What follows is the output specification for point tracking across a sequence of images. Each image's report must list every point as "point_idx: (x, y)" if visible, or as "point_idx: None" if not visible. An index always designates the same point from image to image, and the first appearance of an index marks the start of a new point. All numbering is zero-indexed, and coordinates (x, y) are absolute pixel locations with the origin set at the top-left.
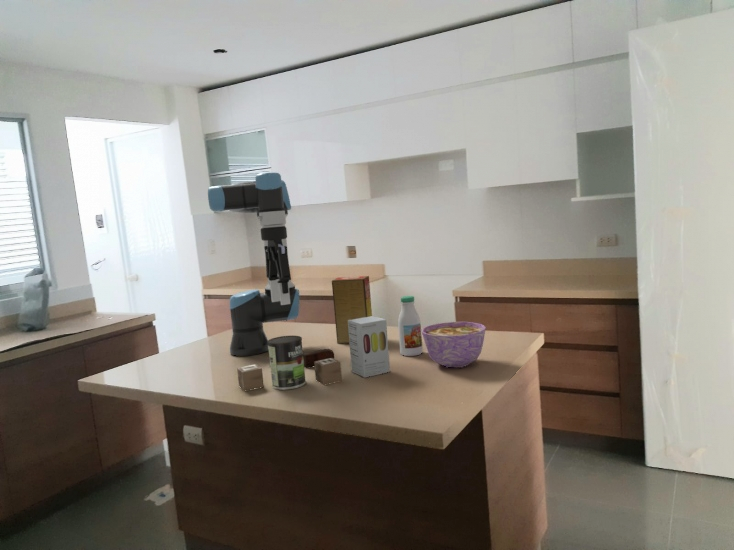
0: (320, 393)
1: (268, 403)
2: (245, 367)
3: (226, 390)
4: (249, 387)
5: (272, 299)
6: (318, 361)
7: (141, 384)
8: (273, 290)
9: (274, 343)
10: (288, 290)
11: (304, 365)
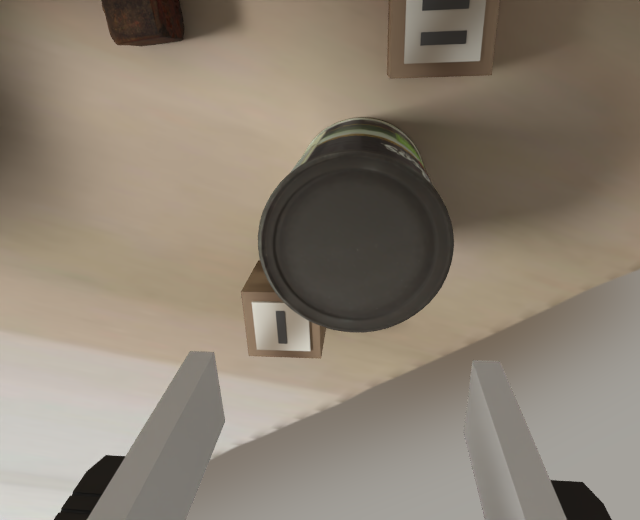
0: (557, 125)
1: (501, 299)
2: (271, 337)
3: None
4: None
5: (217, 439)
6: (415, 63)
7: (73, 489)
8: (179, 504)
9: (405, 319)
10: (548, 489)
11: (162, 42)
